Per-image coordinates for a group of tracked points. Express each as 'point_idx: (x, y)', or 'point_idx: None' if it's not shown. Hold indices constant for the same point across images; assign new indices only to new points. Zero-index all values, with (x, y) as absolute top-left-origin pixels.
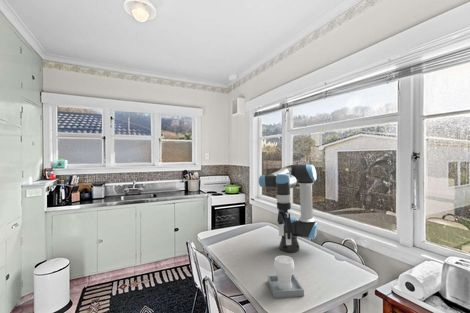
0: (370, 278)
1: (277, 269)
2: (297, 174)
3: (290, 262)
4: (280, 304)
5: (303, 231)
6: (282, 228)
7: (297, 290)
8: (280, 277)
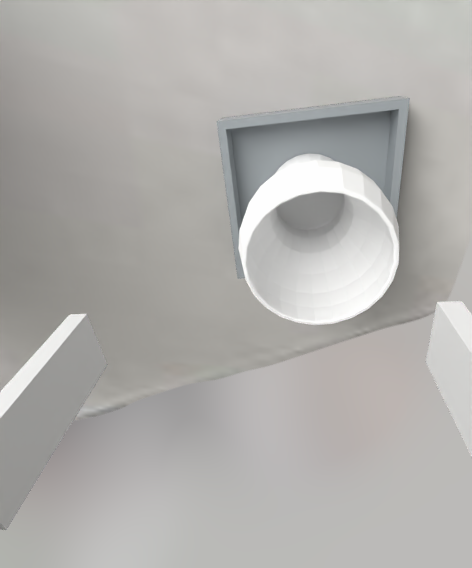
0: None
1: (352, 290)
2: None
3: (391, 224)
4: (438, 240)
5: None
6: (27, 411)
7: (403, 142)
8: (343, 248)
